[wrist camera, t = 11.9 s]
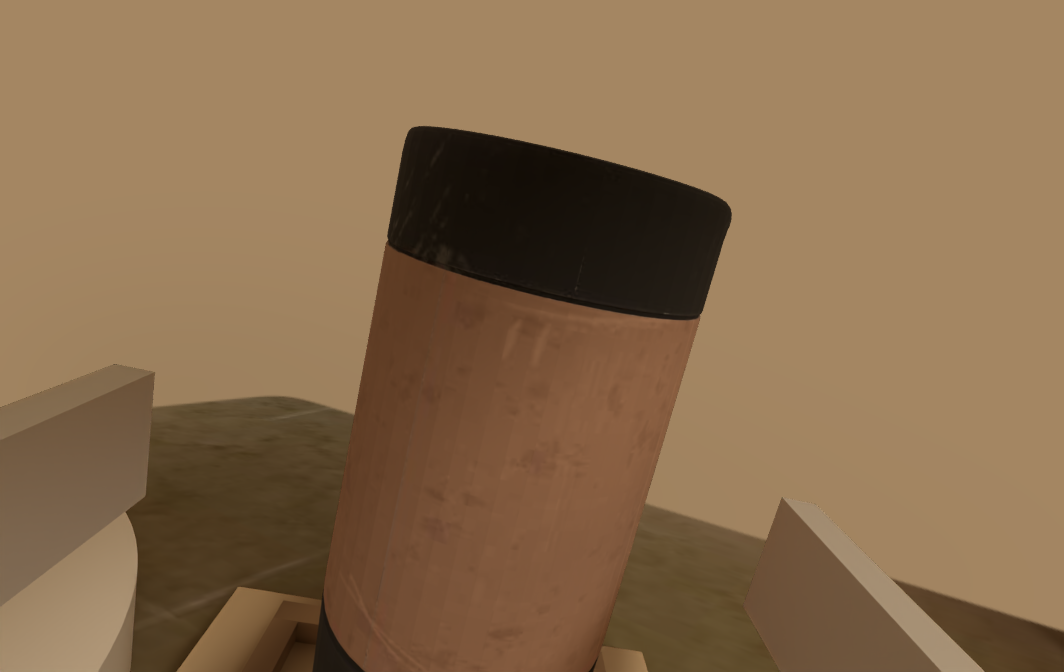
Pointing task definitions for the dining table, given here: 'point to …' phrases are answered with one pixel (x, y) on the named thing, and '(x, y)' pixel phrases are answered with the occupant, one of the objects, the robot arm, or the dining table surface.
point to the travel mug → (510, 405)
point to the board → (298, 638)
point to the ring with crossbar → (76, 610)
